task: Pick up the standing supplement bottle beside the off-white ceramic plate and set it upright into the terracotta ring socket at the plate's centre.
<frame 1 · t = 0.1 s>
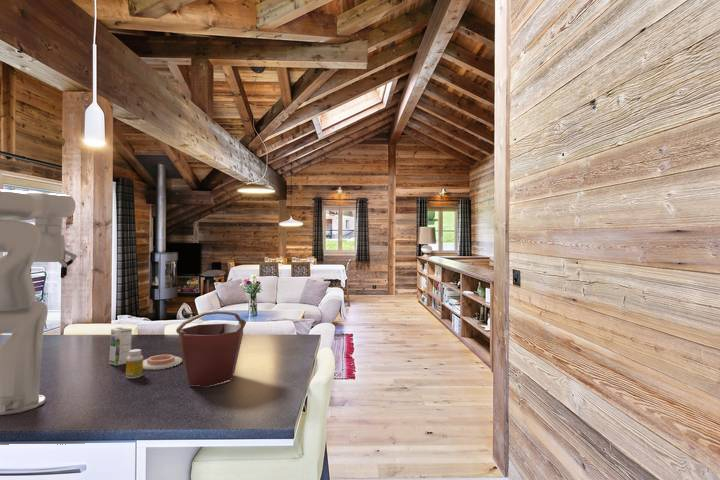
hand: (45, 278, 131), 37 cm above the kitchen island, tool pointing down, fingers open, 9 cm apart
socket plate: (160, 363, 153), on the kitchen island
syrup box: (119, 363, 152), on the kitchen island
bucket: (210, 380, 135), on the kitchen island
supplement bottle: (134, 377, 137), on the kitchen island
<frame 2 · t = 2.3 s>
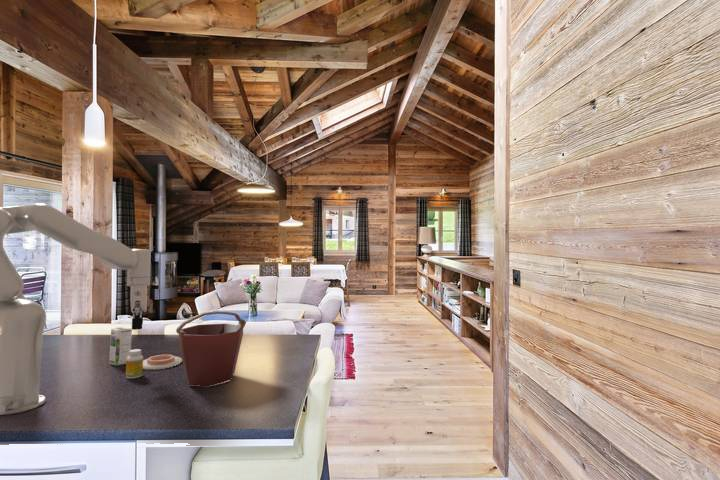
hand: (137, 326, 138), 18 cm above the kitchen island, tool pointing down, fingers open, 9 cm apart
nothing on the kitchen island moved.
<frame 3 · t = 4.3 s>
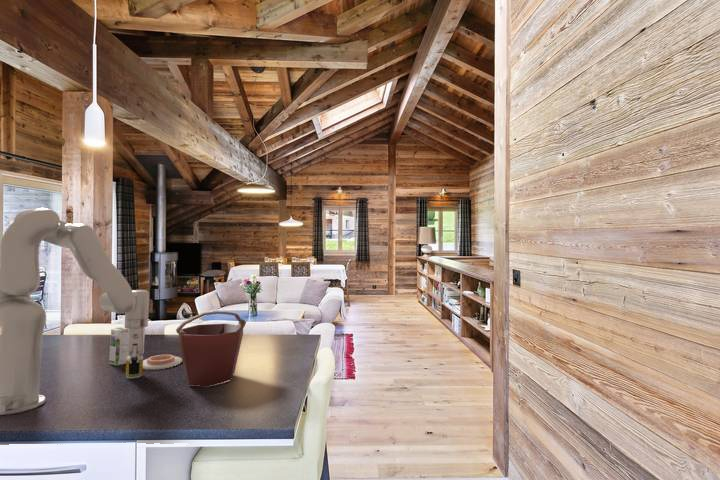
hand: (134, 370, 137), 2 cm above the kitchen island, tool pointing down, fingers closed on supplement bottle, 5 cm apart
supplement bottle: (134, 376, 137), on the kitchen island, touching gripper
everything else where it was.
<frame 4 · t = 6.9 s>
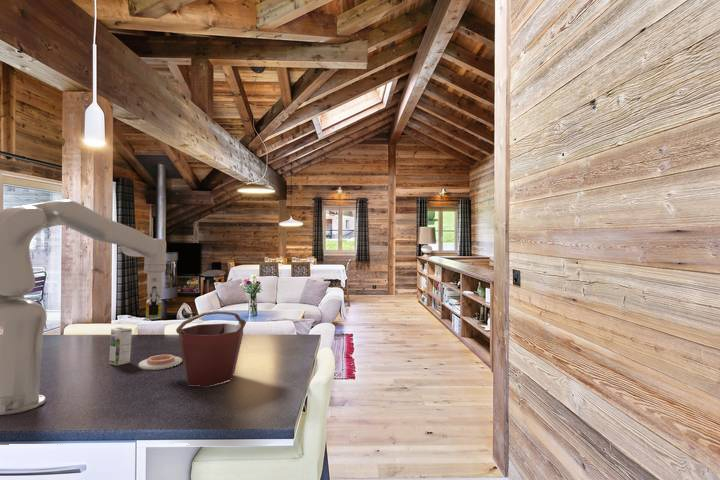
hand: (153, 313, 147), 22 cm above the kitchen island, tool pointing down, fingers closed on supplement bottle, 5 cm apart
supplement bottle: (153, 318, 147), point 20 cm above the kitchen island, touching gripper
everything else where it was.
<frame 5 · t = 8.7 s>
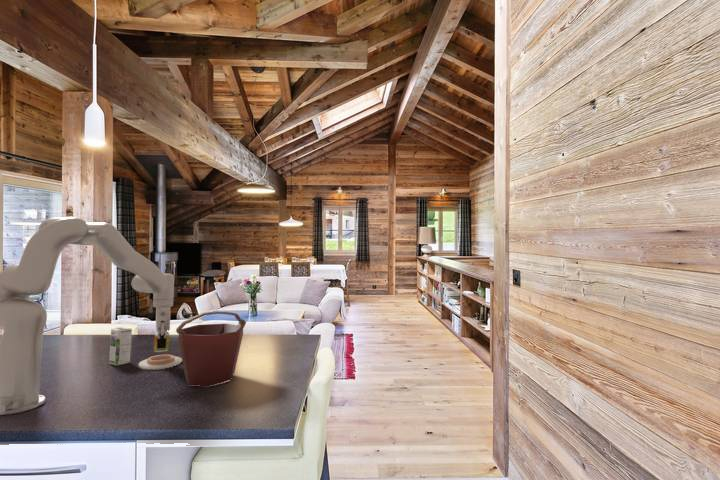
hand: (161, 345, 153), 8 cm above the kitchen island, tool pointing down, fingers closed on supplement bottle, 5 cm apart
supplement bottle: (161, 351, 153), point 5 cm above the kitchen island, touching gripper
everything else where it was.
when the fingers open (4 cm above the kitchen island, at t = 9.9 s): supplement bottle stays where it is, resting on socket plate.
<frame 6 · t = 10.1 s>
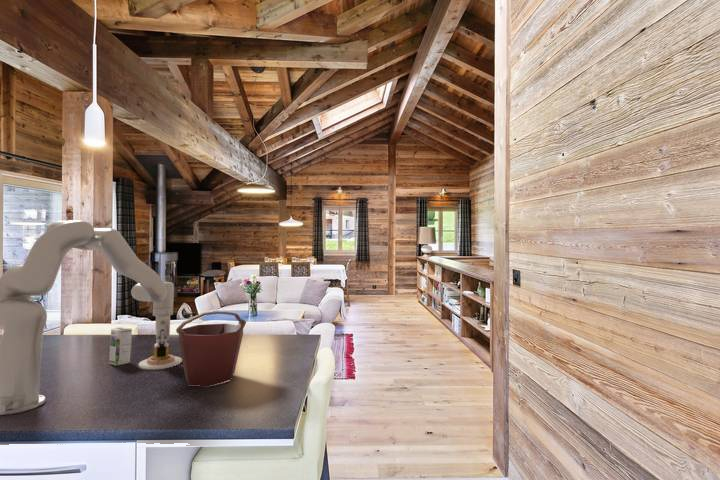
hand: (161, 353, 153), 4 cm above the kitchen island, tool pointing down, fingers open, 6 cm apart
supplement bottle: (160, 361, 153), point 1 cm above the kitchen island, touching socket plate
everything else where it was.
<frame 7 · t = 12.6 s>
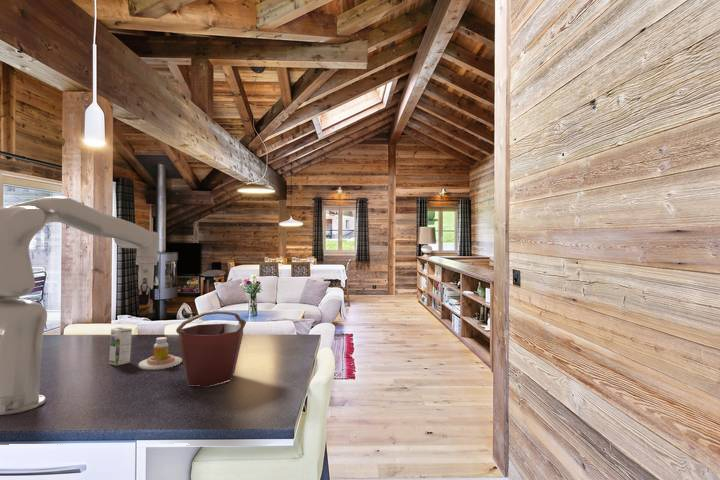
hand: (143, 303, 148), 26 cm above the kitchen island, tool pointing down, fingers open, 9 cm apart
nothing on the kitchen island moved.
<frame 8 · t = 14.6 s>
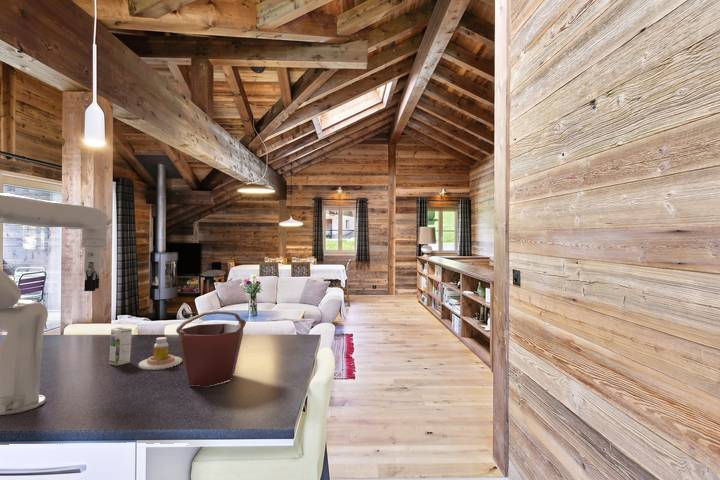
hand: (91, 289, 136), 32 cm above the kitchen island, tool pointing down, fingers open, 9 cm apart
nothing on the kitchen island moved.
at the end: supplement bottle 0.1 cm off-centre on the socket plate, point 0.8 cm above the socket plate's base; supplement bottle tilted 0°; the gripper is holding nothing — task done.
